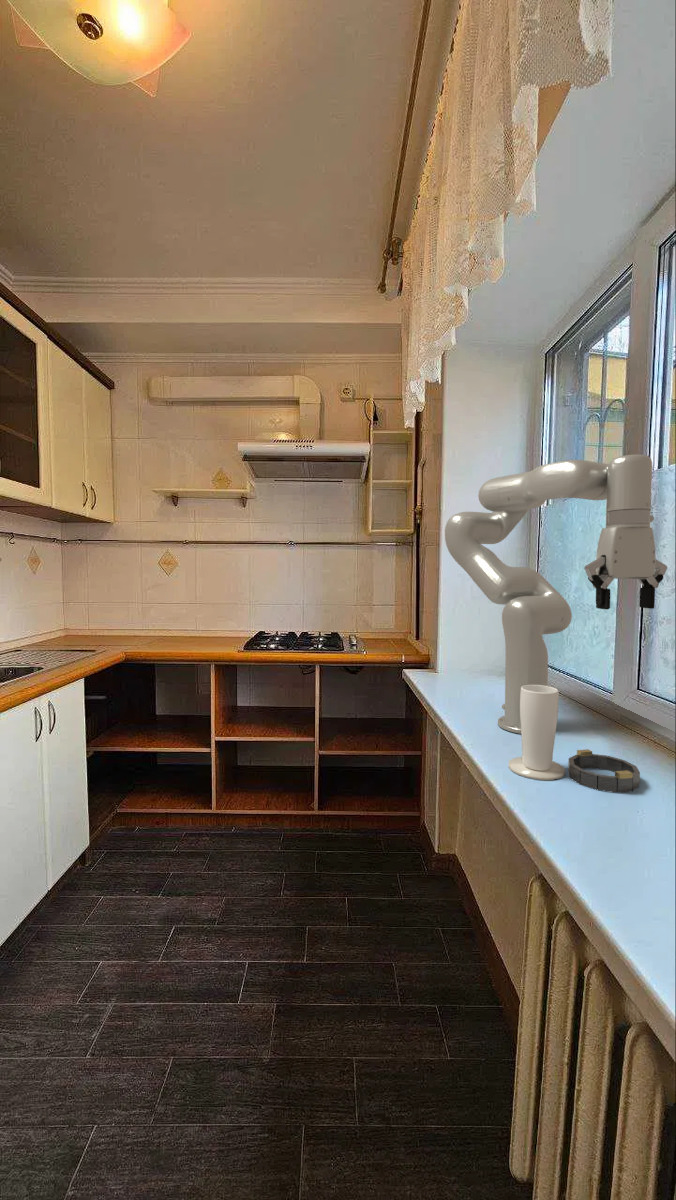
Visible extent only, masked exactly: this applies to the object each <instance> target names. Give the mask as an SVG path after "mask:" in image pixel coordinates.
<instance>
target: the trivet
mask: <svg viewBox="0 0 676 1200" xmlns="http://www.w3.org/2000/svg"><path fill="white" fill-rule="evenodd" d="M508 769H509V771H511V772H512V773H513V774H515V775H517V774H518V775H517V776H520V777H522V776H523V778H527V779H530V778H531V779H530V780H535V779H538V781H555V780H554V779H557V780H560V779H563V778H564V777H565V775H566V768H565V767H564V766H563V765H562V764H561V763H559V762H556V761H553V760H552V767H551V769H549V770H546V771H538V770H533V769H529V768H527V767H526V766H524V765H523V763H522V756H518V757H515V758H511V759H510V760H509V761H508ZM563 776H564V777H563ZM559 778H560V779H559Z"/></svg>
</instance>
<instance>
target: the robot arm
mask: <svg viewBox="0 0 676 1200" xmlns="http://www.w3.org/2000/svg"><path fill="white" fill-rule="evenodd" d="M652 478H653V461H652V458H651V457H650V456H649V455H645V454H627V455H620V456H617V457H614V458H612V459H611V460H610V461H609V463H605V462H604V463H603V462H597V461H592V460H583V459H569V460H562V461H556V462H552V463H546V464H542V465H539V466H537V467H535V468H533V470H530V471H525V472H521V473H514V474H510V475H509V474H508V475H504V476H498V477H494V478H493V477H492V478H490V479H489V480H487V481H485V482H484V483H483V484H482V485H481V487H480V488H479V490H478V495H477V496H478V501H479V503H480V505H481V506H482V507H483V508H485V510H488V511H490V512H483V511H482V512H479V511H462V512H458V513H455V514H453V515H452V516H450V518H449V519H448V520H447V522H446V524H445V527H444V539H445V540H444V541H445V545H446V549H447V550H448V552H449V554H450V556H451V557H452V558H453V560H454V561H455V562H456V563H457V564H458V565H459V566H460V567H461V568H462V569H463V570H464V571H465V572H466V573H467V574H468V576H470V579H472V581H473V582H474V583H475V584H476V586H477V587H478V588H479V589H480V590H481V592H482V593H483V594H484V595H485V597H486V598H487V599H489V600H490V602H491V603H493V604H496V605H501V606H502V605H503V606H504V607H503V608H502V612H501V622H502V629H503V634H504V645H505V674H504V675H505V682H504V685H505V686H504V703H503V704H502V705H501V709H502V710H504V715H503V716H501V717H499V718H498V720H497V725H498V726H499V727H500V728H501V729H503V730H505V731H508V732H510V733H511V732H512V733H515V734H520V735H521V720H520V693H521V687H522V686H524V685H543V686H548V684H549V683H548V681H549V679H548V678H549V676H548V675H549V674H548V673H549V654H548V648H547V646H546V645H547V644H546V643H545V639H544V637H543V635H544V636H545V635H553V634H558V633H561V632H563V631H564V630H566V629H568V627H569V626H570V624H571V622H572V616H573V615H572V608H571V607H570V605H569V603H568V602H567V600H566V599H565V598H564V597H563V595H562V594H560V592H558V590H556V588H555V587H553V585H552V584H551V583H550V582H549V581H548V580H547V579H546V578H545V577H544V576H543V575H541V573H539V572H538V571H536V570H535V569H532V568H530V567H524V566H509V565H507V564H506V563H504V562H503V561H502V560H501V559H500V558H499V556H498V555H496V554H495V553H494V551H492V550H491V549H489V548H488V547H486V546H484V545H496V544H499V543H501V542H503V540H505V539H506V538H507V537H508V536H509V534H511V532H512V531H513V530H514V529H515V528H516V526H517V525H518V524H519V523H520V521H522V520H523V518H524V517H525V516H526V514H527V513H528V512H529V510H530V509H536V508H537V509H538V508H540V507H542V506H543V505H544V504H545V503H546V501H548V500H556V499H567V498H568V499H578V500H579V499H580V500H590V501H604V500H606V509H605V510H606V511H605V512H606V513H605V528H602V529H601V531H600V533H599V539H598V541H597V542H598V543H597V548H596V557H595V560H593V561H592V562H590V563H588V564H585V566H584V571H585V573H586V576H587V579H588V581H589V582H590V583H591V585H592V587H593V589H595V608H596V609H598V610H609V609H610V608H611V588H608V587H609V586H610V585H611V583H612V582H613V581H614V579H616V580H617V579H618V580H620V579H621V580H632V579H633V580H635V579H637V581H638V582H639V583H640V584H641V585H642V587H640V589H639V603H638V605H639V608H641V609H655V604H656V603H655V600H656V589H657V588H659V585H660V583H661V582H662V581H663V580H664V576H665V574H666V573H667V569H668V566H667V565H666V564H665V563H663V562H661V561H660V560H658V559H657V558H656V543H655V537H654V530H653V527H651V523H652V522H654V519H655V517H654V516H653V515H652V514H651V509H652V508H651V507H652V485H653V484H652V481H653V480H652Z"/></svg>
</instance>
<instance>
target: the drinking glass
mask: <svg viewBox="0 0 676 1200" xmlns="http://www.w3.org/2000/svg"><path fill="white" fill-rule="evenodd" d="M559 695H560V694H559V690H558V689H557V688H556V687H552V686H550V685H549V686H548V685H547V686H543V685H524V686H522V687H521V693H520V720H521V734H520V735H521V753H522V756H521V757H522V763H523V765H524V766H526V767H527V768H529V769H533V770H538V771H546V770H549V769H551V767H552V761H553V759H554V758H553V757H554V749H555V748H554V747H555V740H556V733H557V726H558V719H559V718H558V717H559V708H560V707H559V703H560V702H559V699H560V696H559Z"/></svg>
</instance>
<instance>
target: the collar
mask: <svg viewBox="0 0 676 1200" xmlns="http://www.w3.org/2000/svg"><path fill="white" fill-rule="evenodd" d="M567 765H568V766H567V769H568V771H567V773H568V777H569V779H571V780H572V779H573V780H572V781H574V782H575V781H576V783H577V784H578V783H579V784H578V785H581V786H584V787H587V788H590V789H592V788H593V790H595V789H596V791H600V790H605V791H604V792H607V791H612V792H611V793H614V792H621V793H630V792H629V791H632V792H634V791H636V790H637V789H638V788H640V781H641V779H640V778H641V773H640V770H639V768H638V766H637V765H635V764H633V763H631V762H629V761H627V760H625V759H623V758H618V757H614V756H611V755H604V754H599V753H598V754H595V753H593V751H592V750H590V749H588V748H587V749H576V754H574V755H572V756H570V757H569V758H568V764H567ZM596 768H598V769H597V770H604V769H606V771H609V772H613V773H614V776H613V775H605V774H597V773H595V772H592V771H590V770H589V771H588V770H585V769H596ZM597 789H598V790H597Z"/></svg>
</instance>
